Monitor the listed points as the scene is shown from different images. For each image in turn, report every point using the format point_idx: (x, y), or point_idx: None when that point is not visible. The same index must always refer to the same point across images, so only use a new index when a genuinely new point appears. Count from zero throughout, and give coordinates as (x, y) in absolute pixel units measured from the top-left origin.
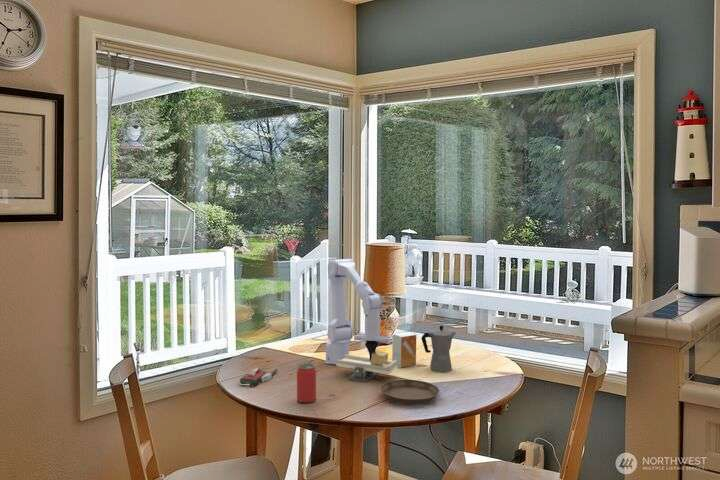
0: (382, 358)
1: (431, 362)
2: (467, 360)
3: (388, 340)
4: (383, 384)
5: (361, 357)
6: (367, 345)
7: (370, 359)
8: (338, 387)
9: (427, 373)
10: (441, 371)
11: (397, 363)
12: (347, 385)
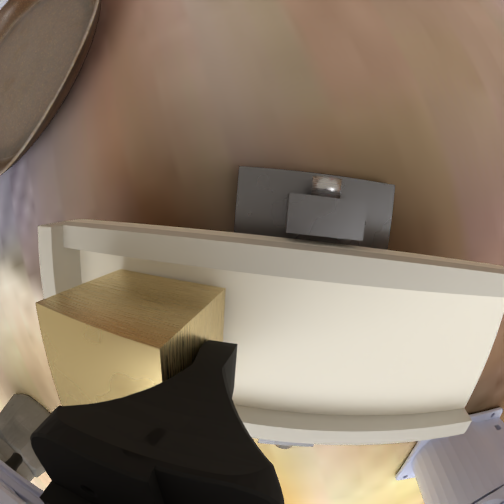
0: (65, 296)
1: None
2: (45, 473)
3: None
4: (87, 27)
5: (350, 431)
6: (208, 456)
7: (225, 344)
8: (379, 35)
9: (42, 383)
10: (22, 395)
11: None
12: (346, 72)
